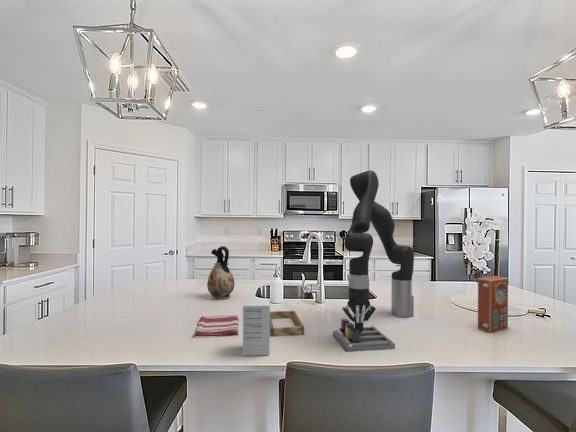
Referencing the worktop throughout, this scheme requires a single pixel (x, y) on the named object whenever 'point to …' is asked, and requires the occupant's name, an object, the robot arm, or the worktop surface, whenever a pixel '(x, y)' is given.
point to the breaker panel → (362, 338)
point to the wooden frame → (286, 330)
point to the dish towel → (217, 326)
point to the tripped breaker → (348, 329)
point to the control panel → (492, 303)
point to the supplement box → (256, 327)
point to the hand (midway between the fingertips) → (358, 332)
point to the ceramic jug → (220, 276)
